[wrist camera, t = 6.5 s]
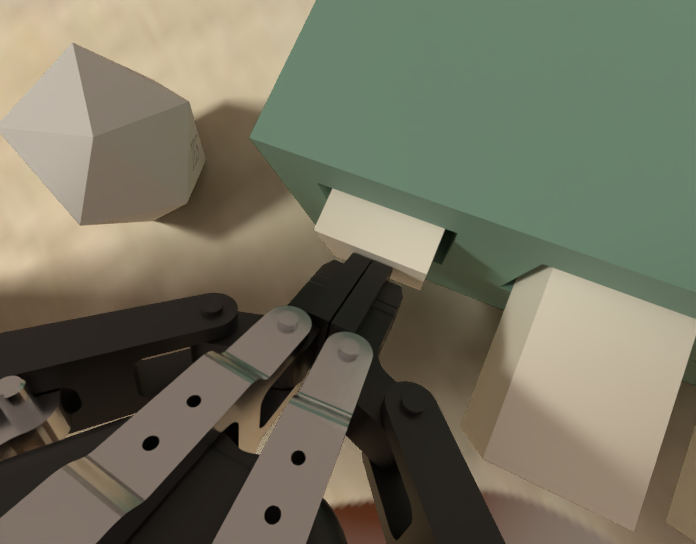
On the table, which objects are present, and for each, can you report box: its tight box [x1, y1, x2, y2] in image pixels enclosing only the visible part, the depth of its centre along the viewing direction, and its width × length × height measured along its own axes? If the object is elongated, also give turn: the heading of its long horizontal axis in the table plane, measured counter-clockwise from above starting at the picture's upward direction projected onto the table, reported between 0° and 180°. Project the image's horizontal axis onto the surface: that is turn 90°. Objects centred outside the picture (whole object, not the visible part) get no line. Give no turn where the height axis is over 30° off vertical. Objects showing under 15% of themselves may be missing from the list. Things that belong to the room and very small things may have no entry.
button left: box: [314, 188, 445, 290], centre depth 13 cm, size 4×6×4 cm, turn 156°
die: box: [0, 43, 206, 226], centre depth 19 cm, size 8×9×10 cm
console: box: [249, 0, 696, 386], centre depth 11 cm, size 22×10×16 cm, turn 66°
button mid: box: [461, 264, 696, 532], centre depth 11 cm, size 4×6×4 cm, turn 156°
